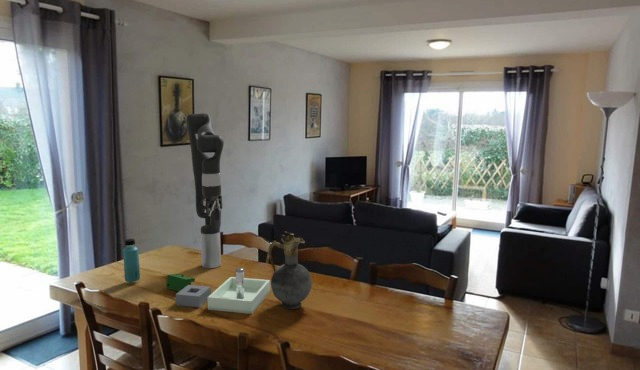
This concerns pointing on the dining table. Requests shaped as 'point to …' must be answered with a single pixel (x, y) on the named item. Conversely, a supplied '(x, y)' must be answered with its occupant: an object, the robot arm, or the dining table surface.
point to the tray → (227, 296)
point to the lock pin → (240, 283)
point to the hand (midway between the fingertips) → (212, 222)
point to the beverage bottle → (131, 261)
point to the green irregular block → (178, 281)
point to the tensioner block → (193, 296)
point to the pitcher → (290, 274)
